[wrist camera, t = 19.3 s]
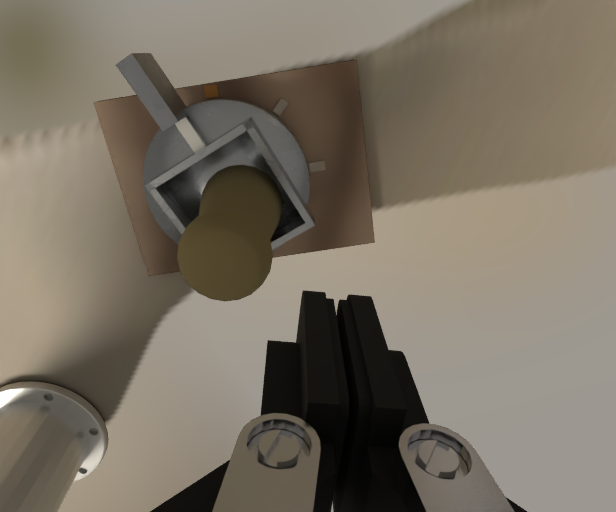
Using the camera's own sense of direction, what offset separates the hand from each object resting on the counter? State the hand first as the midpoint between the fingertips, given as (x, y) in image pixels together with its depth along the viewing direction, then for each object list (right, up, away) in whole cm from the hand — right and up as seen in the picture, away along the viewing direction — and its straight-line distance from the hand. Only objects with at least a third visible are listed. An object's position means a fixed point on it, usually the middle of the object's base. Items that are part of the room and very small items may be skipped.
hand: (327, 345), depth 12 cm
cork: (-5, +6, +23) cm, 25 cm away
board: (-5, +9, +26) cm, 28 cm away
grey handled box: (-7, +10, +24) cm, 26 cm away
